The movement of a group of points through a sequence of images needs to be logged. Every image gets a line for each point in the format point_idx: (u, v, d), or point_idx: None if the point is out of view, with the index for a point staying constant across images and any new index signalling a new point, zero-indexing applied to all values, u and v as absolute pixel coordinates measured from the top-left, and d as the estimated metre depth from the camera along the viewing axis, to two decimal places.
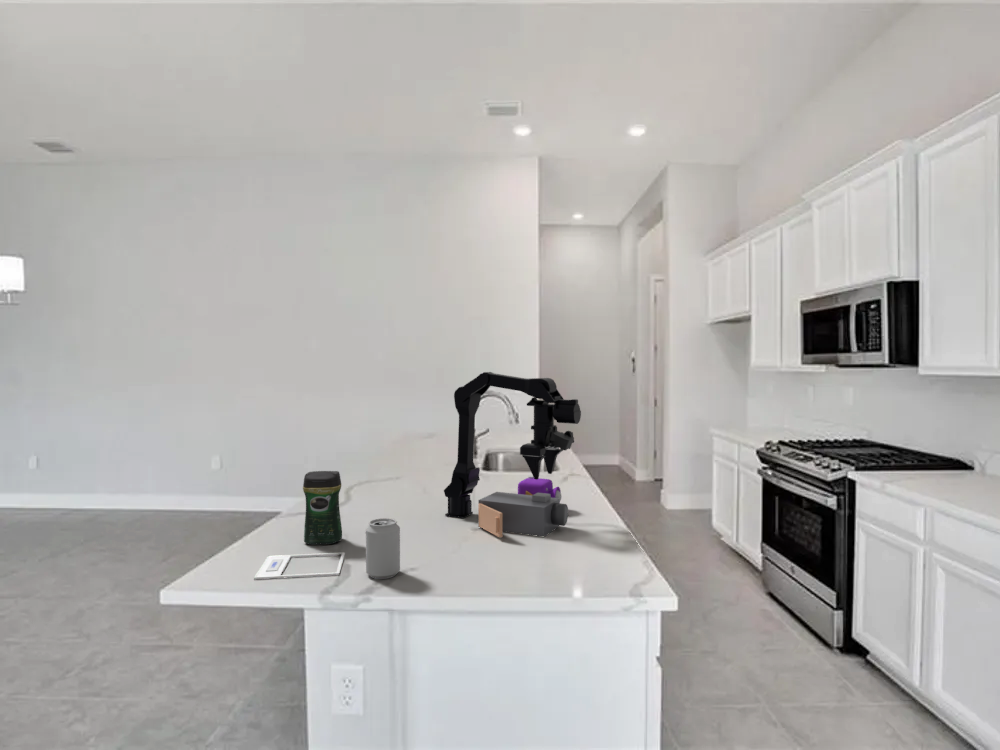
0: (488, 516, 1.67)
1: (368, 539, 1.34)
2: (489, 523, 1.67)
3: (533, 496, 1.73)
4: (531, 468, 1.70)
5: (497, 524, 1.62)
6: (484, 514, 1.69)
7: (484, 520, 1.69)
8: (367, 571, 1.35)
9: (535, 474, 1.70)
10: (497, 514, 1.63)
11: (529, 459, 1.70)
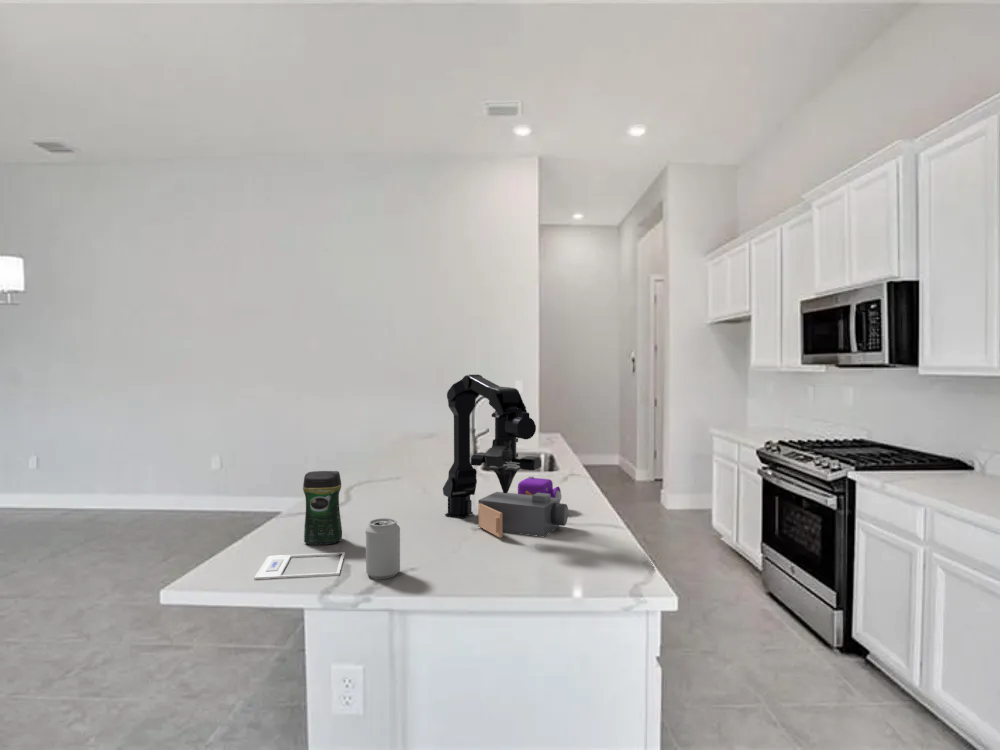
0: (488, 516, 1.67)
1: (368, 539, 1.34)
2: (489, 523, 1.67)
3: (533, 496, 1.73)
4: None
5: (497, 524, 1.62)
6: (484, 514, 1.69)
7: (484, 520, 1.69)
8: (367, 571, 1.35)
9: None
10: (497, 514, 1.63)
11: None
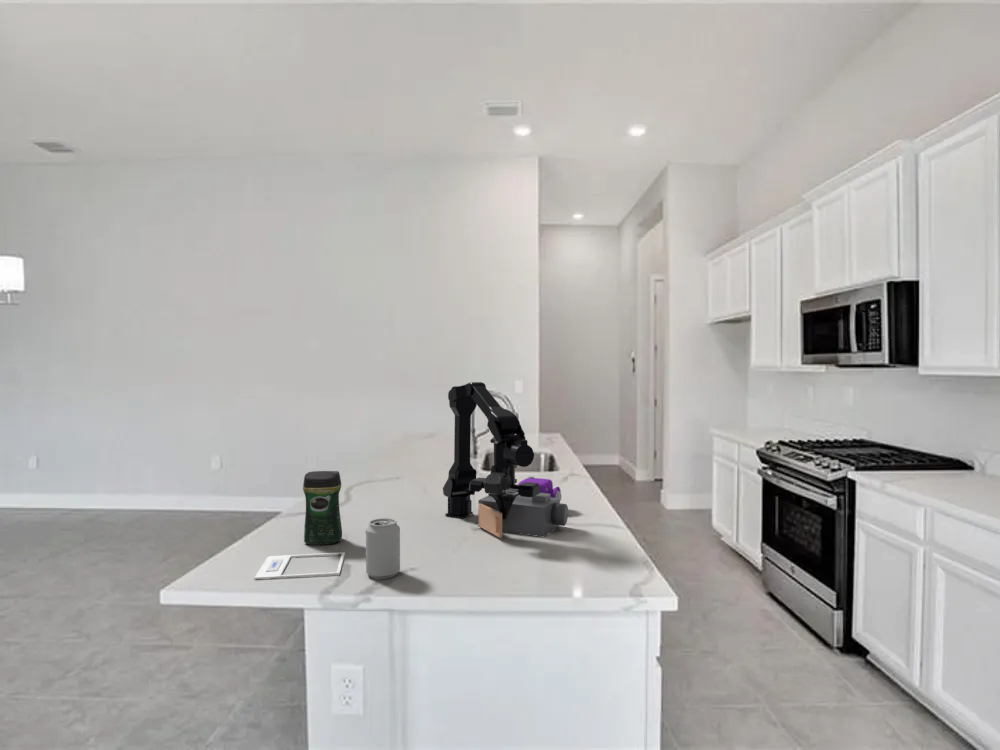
0: (488, 516, 1.67)
1: (368, 539, 1.34)
2: (489, 523, 1.67)
3: None
4: None
5: (497, 524, 1.62)
6: (484, 514, 1.69)
7: (484, 520, 1.69)
8: (367, 571, 1.35)
9: None
10: (497, 514, 1.63)
11: None
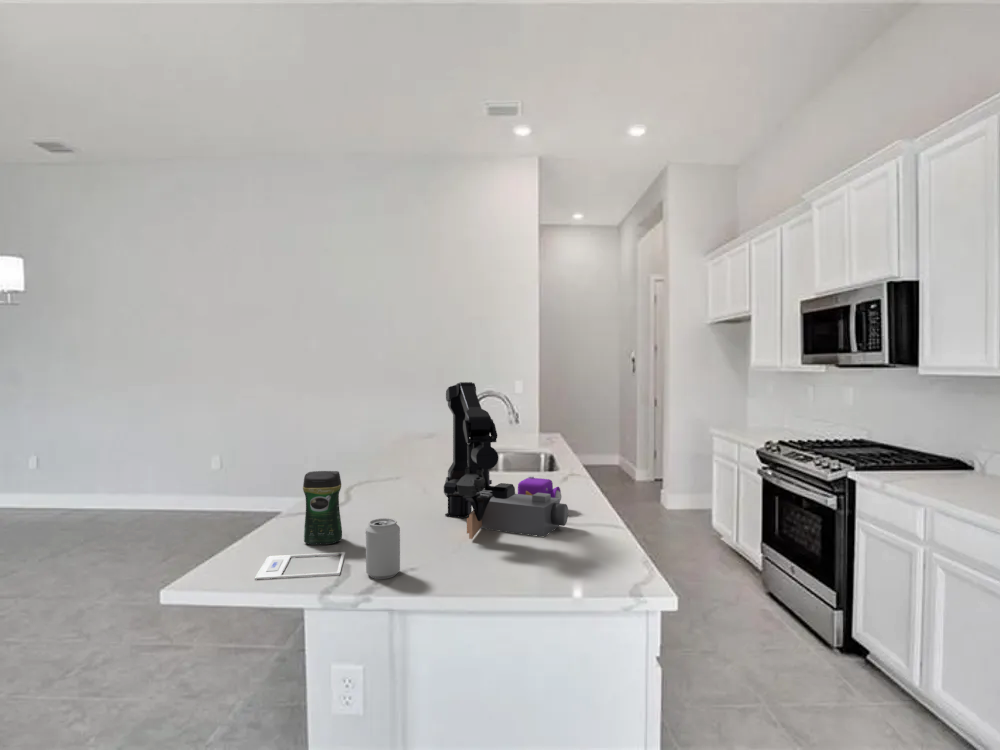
0: None
1: (368, 539, 1.34)
2: None
3: (533, 496, 1.73)
4: None
5: (468, 525, 1.61)
6: None
7: None
8: (367, 571, 1.35)
9: None
10: None
11: None
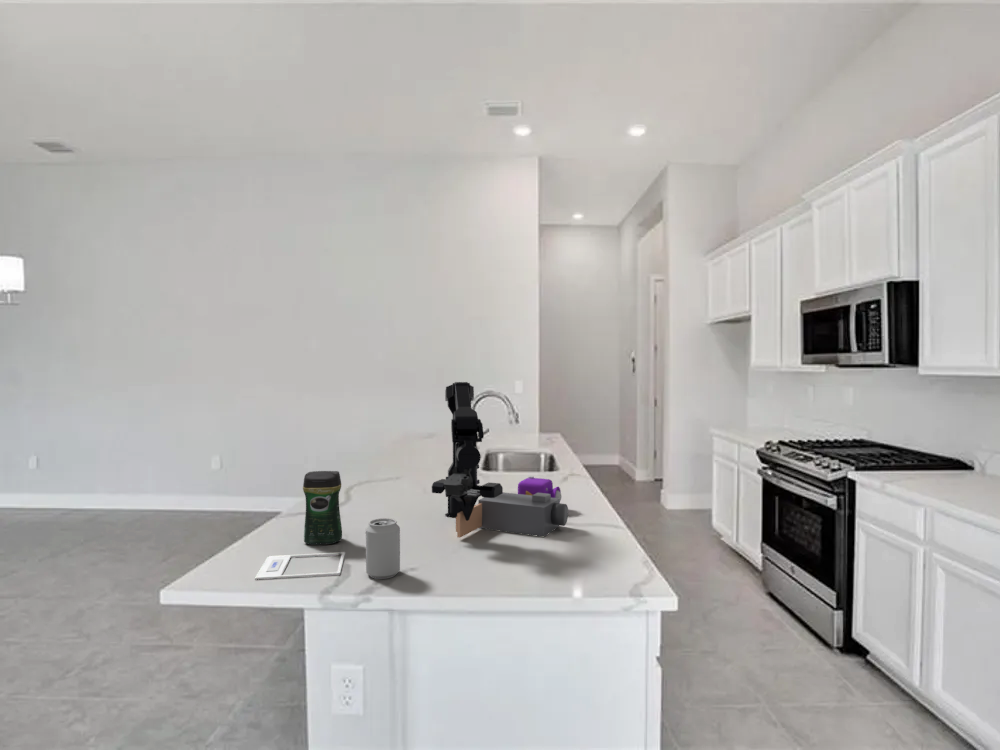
0: None
1: (368, 539, 1.34)
2: None
3: (533, 496, 1.73)
4: None
5: None
6: None
7: None
8: (367, 571, 1.35)
9: None
10: None
11: None
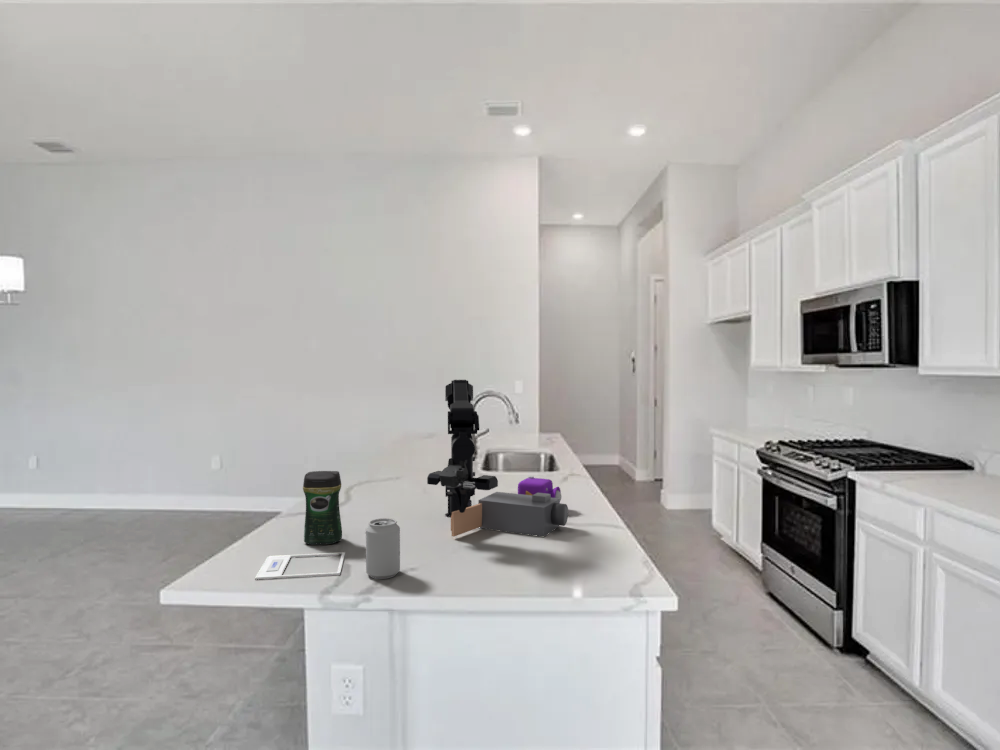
0: None
1: (368, 539, 1.34)
2: None
3: (533, 496, 1.73)
4: None
5: (451, 522, 1.64)
6: None
7: None
8: (367, 571, 1.35)
9: None
10: None
11: None
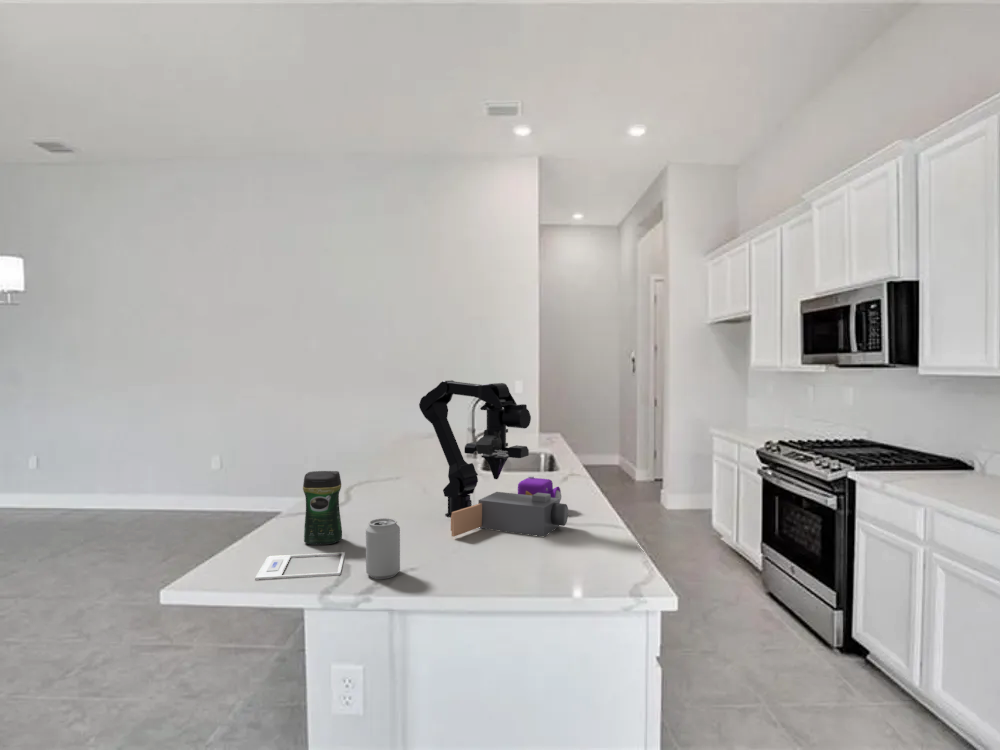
0: None
1: (368, 539, 1.34)
2: None
3: (533, 496, 1.73)
4: None
5: (451, 522, 1.64)
6: None
7: None
8: (367, 571, 1.35)
9: None
10: None
11: None
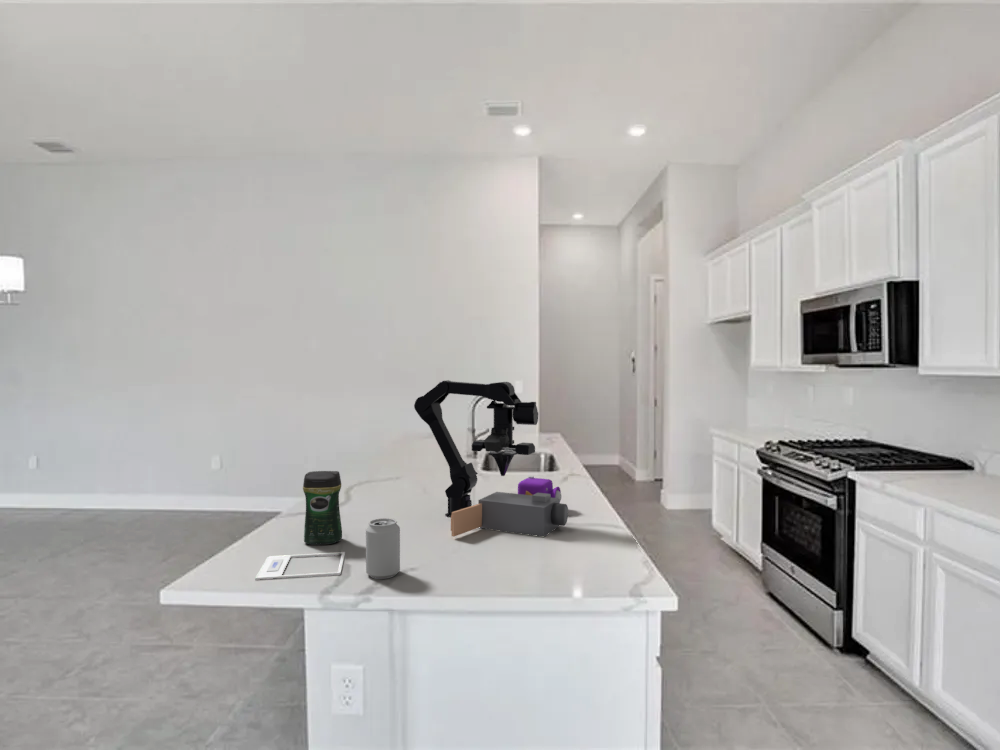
0: None
1: (368, 539, 1.34)
2: None
3: (533, 496, 1.73)
4: None
5: (451, 522, 1.64)
6: None
7: None
8: (367, 571, 1.35)
9: None
10: None
11: None
